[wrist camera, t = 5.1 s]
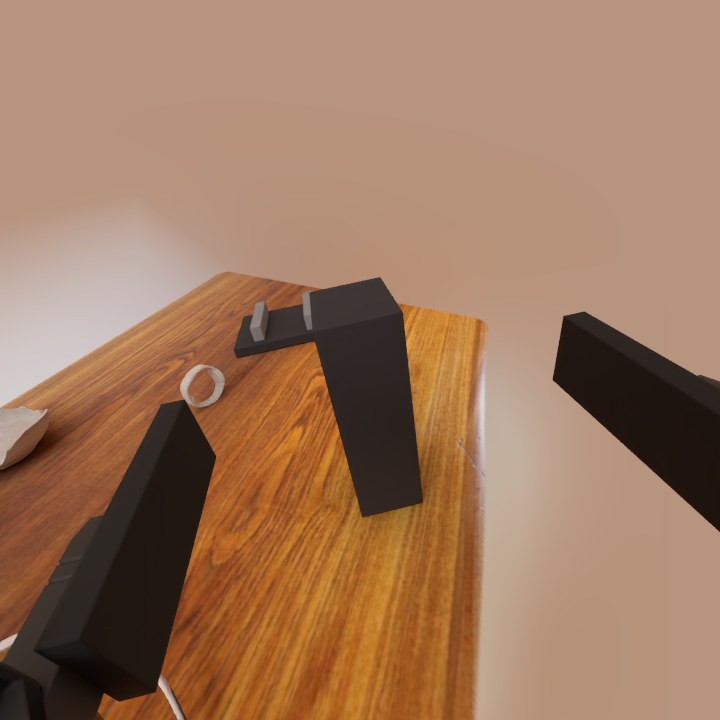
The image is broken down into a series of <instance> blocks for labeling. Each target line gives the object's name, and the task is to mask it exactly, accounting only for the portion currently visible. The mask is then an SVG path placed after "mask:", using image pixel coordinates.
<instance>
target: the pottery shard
mask: <svg viewBox="0 0 720 720" xmlns="http://www.w3.org/2000/svg"><path fill="white" fill-rule="evenodd" d="M48 410H49V409H45V411H42V410H39V409H37V410H36V411H35V410H33V409H31V408H28V407H26V406H21V407H19V408H16V409H1V408H0V470H2V469H5V468H7V467H9V466H11V465H13V464H15V463H17V462H18V461H20V460H22V459H23V458H25V457H26V456H27V455H29V454H30V453H31V452H32V451H33V450H34V449H35V447H36V445H37V443H38V442H39V440H40V439H41V438H42V437H43V435H44V434H45V432H46V430H47V428H48V425H49V422H50V416H49V415H48Z"/></svg>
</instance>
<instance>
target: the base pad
mask: <svg viewBox="0 0 720 720" xmlns="http://www.w3.org/2000/svg"><path fill="white" fill-rule="evenodd" d="M310 292H312V291H310ZM310 292H305V293H303V304H301V305H296V306H292V307H287V308H282V309H278V310H273V311H268V309H267V306H266V303H265V301H263V302H259V303H256V306H255V310H254V314H253V315H250V316H245V317H244V318H243V321H242V324H241V328H240V331H239V334H238V338H237V341H236V344H235V347H234V351H235V354H236V356H237V358H239V357H243V356H248V355H253V354H257V353H262V352H266V351H271V350H275V349H280V348H284V347H289V346H293V345H298V344H302V343H307V342H311V341H315V339H314V335H313V330H312V319H311V308H310V297H309V293H310Z"/></svg>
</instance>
